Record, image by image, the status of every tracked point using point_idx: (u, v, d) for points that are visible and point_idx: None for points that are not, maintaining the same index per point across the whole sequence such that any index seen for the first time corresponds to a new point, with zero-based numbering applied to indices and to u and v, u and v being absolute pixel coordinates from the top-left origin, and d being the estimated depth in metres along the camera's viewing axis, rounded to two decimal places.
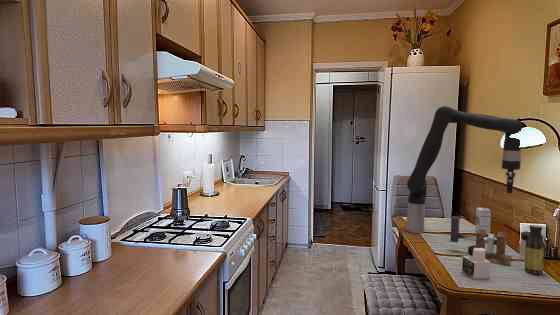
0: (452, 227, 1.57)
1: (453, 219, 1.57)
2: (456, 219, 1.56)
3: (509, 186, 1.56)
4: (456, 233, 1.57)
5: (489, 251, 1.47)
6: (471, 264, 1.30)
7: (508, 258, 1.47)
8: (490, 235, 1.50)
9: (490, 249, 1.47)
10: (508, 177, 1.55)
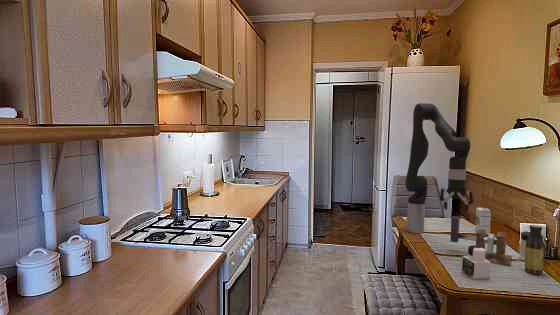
0: (452, 227, 1.57)
1: (453, 219, 1.57)
2: (456, 219, 1.56)
3: (468, 205, 1.54)
4: (456, 233, 1.57)
5: (489, 251, 1.47)
6: (471, 264, 1.30)
7: (508, 258, 1.47)
8: (490, 235, 1.50)
9: (490, 249, 1.47)
10: (472, 196, 1.52)
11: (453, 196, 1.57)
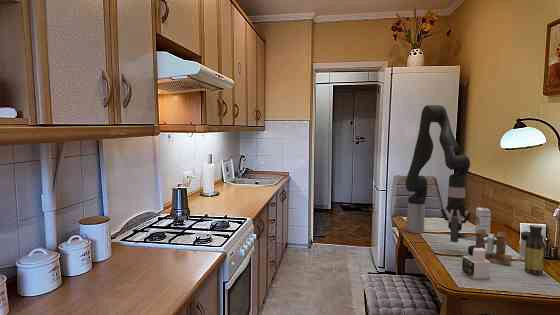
0: (452, 227, 1.57)
1: (453, 219, 1.57)
2: (456, 219, 1.56)
3: (461, 224, 1.57)
4: (456, 233, 1.57)
5: (489, 251, 1.47)
6: (471, 264, 1.30)
7: (508, 258, 1.47)
8: (490, 235, 1.50)
9: (490, 249, 1.47)
10: (468, 217, 1.54)
11: (454, 213, 1.57)
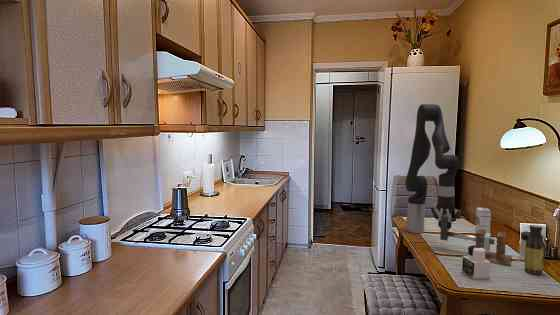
0: (442, 225, 1.60)
1: (443, 217, 1.60)
2: (446, 217, 1.59)
3: (451, 222, 1.59)
4: (446, 231, 1.59)
5: (485, 250, 1.48)
6: (471, 264, 1.30)
7: (508, 258, 1.47)
8: (486, 234, 1.51)
9: (486, 248, 1.48)
10: (458, 215, 1.57)
11: (444, 212, 1.60)
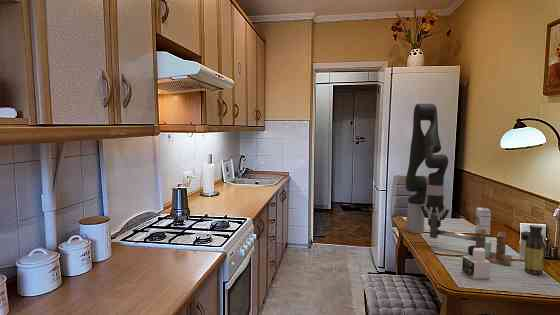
0: (431, 224, 1.63)
1: (432, 216, 1.63)
2: (435, 216, 1.62)
3: (440, 221, 1.62)
4: (435, 229, 1.62)
5: (486, 256, 1.48)
6: (471, 264, 1.30)
7: (508, 258, 1.47)
8: (487, 240, 1.51)
9: (487, 254, 1.48)
10: None
11: (433, 210, 1.63)
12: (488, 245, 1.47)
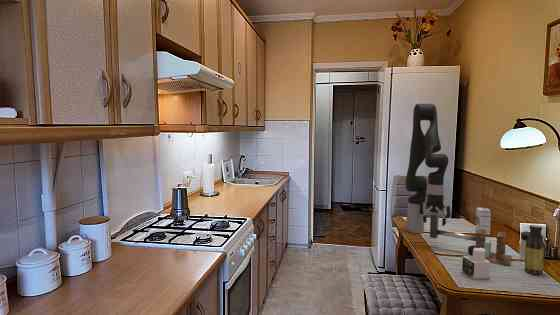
0: (431, 224, 1.63)
1: (432, 216, 1.63)
2: (435, 216, 1.62)
3: (445, 219, 1.61)
4: (435, 229, 1.62)
5: (486, 256, 1.48)
6: (471, 264, 1.30)
7: (508, 258, 1.47)
8: (487, 240, 1.51)
9: (487, 254, 1.48)
10: (449, 211, 1.59)
11: (432, 210, 1.64)
12: (488, 245, 1.47)
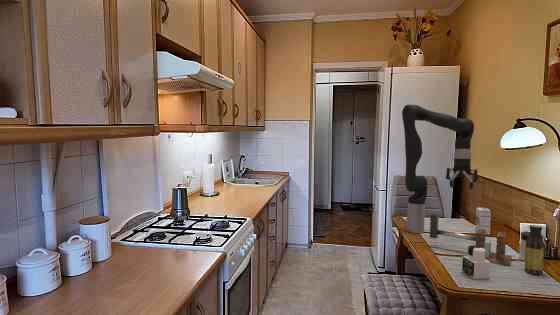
0: (431, 224, 1.63)
1: (432, 216, 1.63)
2: (435, 216, 1.62)
3: None
4: (435, 229, 1.62)
5: (486, 256, 1.48)
6: (471, 264, 1.30)
7: (508, 258, 1.47)
8: (487, 240, 1.51)
9: (487, 254, 1.48)
10: (477, 174, 1.61)
11: (459, 174, 1.66)
12: (488, 245, 1.47)
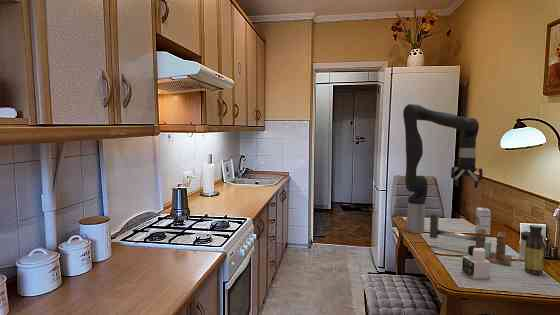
0: (431, 224, 1.63)
1: (432, 216, 1.63)
2: (435, 216, 1.62)
3: None
4: (435, 229, 1.62)
5: (486, 256, 1.48)
6: (471, 264, 1.30)
7: (508, 258, 1.47)
8: (487, 240, 1.51)
9: (487, 254, 1.48)
10: (482, 173, 1.62)
11: (463, 173, 1.67)
12: (488, 245, 1.47)
